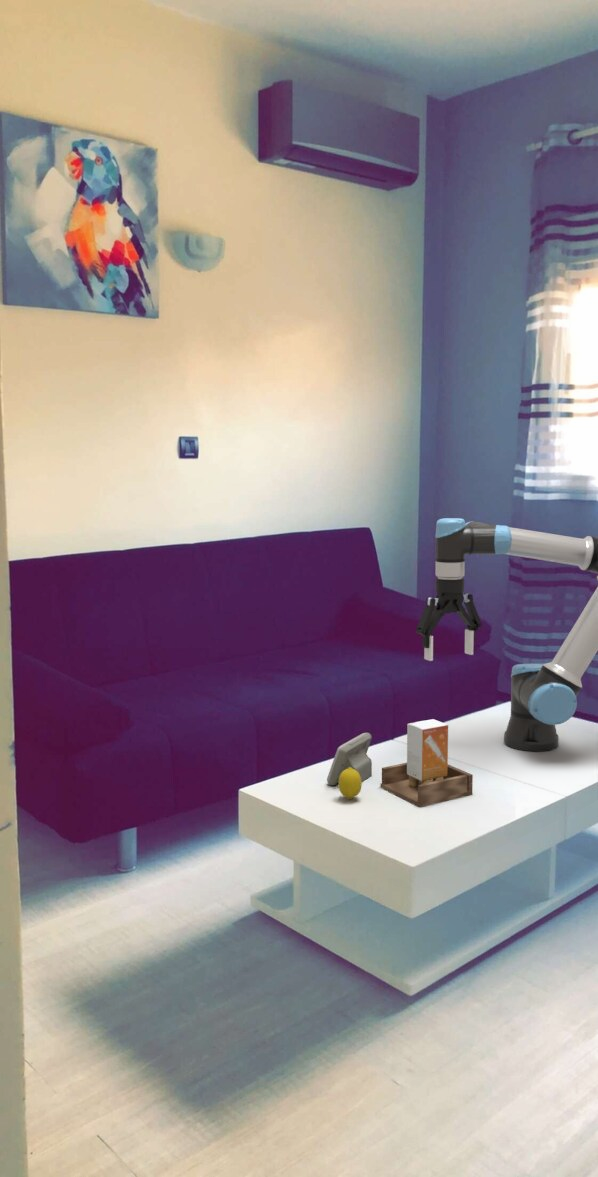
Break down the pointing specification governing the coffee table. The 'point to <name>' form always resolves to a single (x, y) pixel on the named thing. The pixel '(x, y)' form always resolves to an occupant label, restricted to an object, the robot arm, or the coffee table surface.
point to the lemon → (350, 783)
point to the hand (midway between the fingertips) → (449, 657)
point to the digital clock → (352, 759)
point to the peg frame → (426, 785)
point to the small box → (427, 749)
